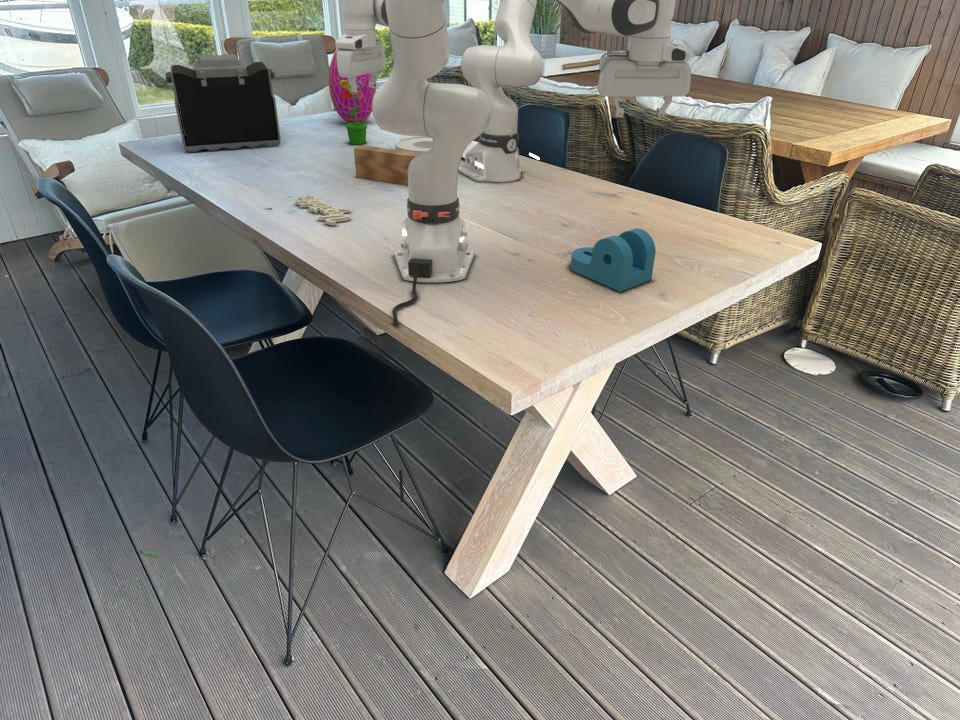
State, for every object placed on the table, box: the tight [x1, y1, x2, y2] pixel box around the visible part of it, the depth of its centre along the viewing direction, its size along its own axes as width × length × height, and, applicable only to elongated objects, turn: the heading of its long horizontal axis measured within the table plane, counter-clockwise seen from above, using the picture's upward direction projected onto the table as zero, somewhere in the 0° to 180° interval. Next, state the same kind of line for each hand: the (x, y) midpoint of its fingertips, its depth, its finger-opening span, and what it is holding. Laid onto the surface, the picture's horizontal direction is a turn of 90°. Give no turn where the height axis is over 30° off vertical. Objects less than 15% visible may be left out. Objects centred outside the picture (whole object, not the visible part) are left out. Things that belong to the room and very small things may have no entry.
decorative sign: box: [295, 194, 351, 226], centre depth 192 cm, size 26×1×10 cm
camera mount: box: [570, 227, 656, 293], centre depth 154 cm, size 18×10×10 cm, turn 39°
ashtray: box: [394, 136, 433, 153], centre depth 246 cm, size 23×23×4 cm
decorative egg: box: [328, 49, 377, 124], centre depth 286 cm, size 19×19×30 cm
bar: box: [353, 144, 421, 186], centre depth 216 cm, size 27×5×9 cm, turn 64°
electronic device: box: [164, 53, 282, 153], centre depth 252 cm, size 37×22×30 cm, turn 111°
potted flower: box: [339, 80, 368, 145], centre depth 255 cm, size 9×8×25 cm
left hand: (639, 117), depth 156 cm, fingers open, 8 cm apart
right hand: (364, 89), depth 209 cm, fingers open, 8 cm apart
